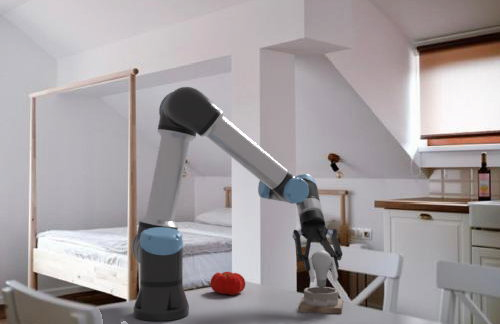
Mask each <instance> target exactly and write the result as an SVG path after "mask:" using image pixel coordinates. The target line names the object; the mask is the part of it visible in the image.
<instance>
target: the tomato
mask: <svg viewBox="0 0 500 324" xmlns="http://www.w3.org/2000/svg"><path fill="white" fill-rule="evenodd" d="M209 283H210V288H211V289H212V291H214V292H216V293H218V294H221V295H229V296H234V295H238V294H240V293H241V292H243V291H244V289H245V287H246V280H245V278H244V277H243V275H241V273H238V272H231V271H224V272H223V271H222V272H215V274H213V276H211V279H210V282H209Z"/></svg>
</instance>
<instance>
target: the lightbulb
mask: <svg viewBox="0 0 500 324" xmlns="http://www.w3.org/2000/svg"><path fill="white" fill-rule="evenodd" d="M310 258H311V259H312V264H313V269H314V274H315V279H316V287H319V288H323V287H327V286H326V284H327V279H328V274H329V271H330V270H331V265H332V258H331V256H330V254H329V253H328V252H326V251H325V250H322V249H321V250H316V251H315V252H314V253H312V255H311V257H310Z"/></svg>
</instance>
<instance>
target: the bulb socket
mask: <svg viewBox="0 0 500 324" xmlns="http://www.w3.org/2000/svg"><path fill="white" fill-rule="evenodd" d="M343 305H344V298H339V289H337V288H335V287H334V288H333V287H329V286H325V287H323V288H319V287H318V286H310V287H306V288H304V290H303V297H302V298H301V300H300V302H299V304H298V309H297V311H298V313H299V312H300V313H319V314H320V313H321V314H322V313H323V314H342V313H343Z"/></svg>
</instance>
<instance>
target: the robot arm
mask: <svg viewBox="0 0 500 324" xmlns="http://www.w3.org/2000/svg"><path fill="white" fill-rule="evenodd" d="M158 111H159V112H158V114H159V121H158V126H157V133H158V134H159V135H160V142H159V147H158V150H157V151H158V153H157V157H156V162H155V168H154V171H153V178H152V183H151V188H150V193H149V196H148V197H149V198H148V203H147V208H146V214H145V216H143V217H142V218H141V219H139V223H138V227H137V232H136V235H135V236H134V237H133V238H134V239H133V240H132V253H133V255H134V258H135V259H136V260H137V262H138V264H139V269H140V270H139V275H140V276H139V289H138V294H137V296H136V299H135V302H134V305H133V317H134V318H136V319H138V320H142V321H149V322H150V321H151V322H153V321H154V322H163V321H164V322H165V321H173V320H179V319H182V318H185V317H187V316H189V314H190V305H189V303H188V302H189V301H188V298H187V295H186V293H185V289H184V286H183V285H184V283H183V272H184V271H183V265H184V264H183V259H184V258H183V257H184V256H183V251H184V250H183V247H184V240H183V234H182V232H181V231H180V230H179V226H178V224H177V223H176V221H175V218H176V213H177V209H178V208H177V207H178V202H179V197H180V192H181V187H182V183H183V177H184V173H185V172H184V171H185V166H186V163H187V157H188V151H189V147H190V143H191V142H192V141H193V140H194V139H196V136H197V134H198V135H199V136H200V137H206V138H207V139H209V140H210V141H212V142H213V143H214V144H215V145H216V146H217V147H219V148H220V149H221V150H222V151H224V152H225V153H226V154H227V155H229V156H230V157H231V158H232V159H234V160H235V161H236V162H237V163H239V164H240V166H242V167H244V169H246V170H247V171H248V172H250V174H252V175H253V176H254V177H255V178H257V179H258V180H259V182H258V185H257V187H258V188H257V191H258V193H257V194H258V196H259V197H260V198H261V199H267V200H272V201H277V202H285V203H289V204H293V205H294V204H296V208H297V213H298V217H299V224H300V229H299V230H297V229H293V231H292V239H293V240H294V244H295V245H294V246H295V255H296V261H297V262H302V264H303V265H304V270H305V272H308V275H309V279H310V283H314V282H315V279H316V274H315V271H314V269H313V264H312V259H311V257H309V255H310V250H311V244H312V243H319V244H320V246H322V248H323V249H324V251H326V252H328V253H329V254H330V256H331V258H332V265H331V267H330V271H331V275H332V281H333V282H337V280H338V278H339V275H338V270H339V267H340V266H339V262H338V261H341V260H342V256H343V251H342V247H341V245H340V242H339V238H338V235H337V234H338V229H336V228H333V229H329V228H328V227H327V225H326V221H325V218H324V213H323V209H322V204H321V198H320V195H319V190H318V185H317V183H316V180H315V177H313V176H312V175H311V174H308V173H303V174H298V175H297V176H295V175H294V174H293V173H292V172H290V170H288V169H287V168H286V167H285V166H283V165H282V164H281V163H280V162H278V161H277V160H276V159H275V158H274V157H273V156H272V155H270V153H268V152H267V151H266V150H264V149H263V148H262V147H261V146H260V145H258V144H257V143H256V142H255V141H253V140H252V138H250V137H249V136H248V135H247V134H245V133H244V132H243V131H242V130H240V129H239V128H238V127H237V126H236V125H234V124H233V123H232V122H231V121H230V120H228V119H227V117H225V115H224V114H223V110H222V109H221V108H220V107H219V106H218V105H216V103H214V102H213V101H212V100H211V99H210V98H209V97H208V96H207V95H205V94H204V93H203V92H201V91H200V90H198V89H197V88H194V87H191V86H181V87H178V88H176V89H175V90H174V91H170V92H169V93H167V95H165V96H164V98H163V99H162V100H161V102H160V106H159V109H158ZM327 235H328V236H329V238H330V239H331V243H332V245H331V243H330V242H329V240H328V237H327ZM301 237H303V238H304V239H306V242H305V243H306V244H305V249H304V254H303V251H302V240H301Z"/></svg>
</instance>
